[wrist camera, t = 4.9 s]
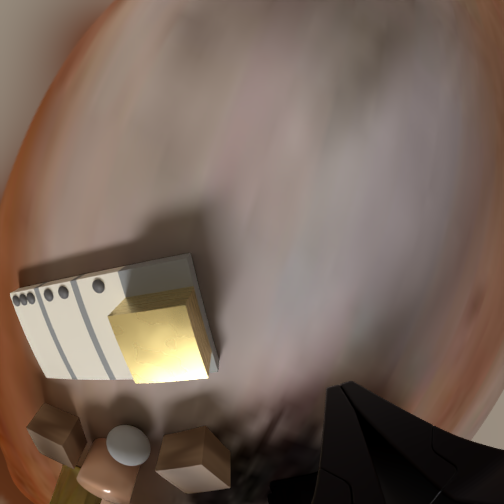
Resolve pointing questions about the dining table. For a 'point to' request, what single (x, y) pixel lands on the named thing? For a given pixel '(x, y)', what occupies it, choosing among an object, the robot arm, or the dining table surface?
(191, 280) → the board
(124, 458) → the grey ball
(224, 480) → the walnut cube
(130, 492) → the peach rounded capsule
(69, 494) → the vase
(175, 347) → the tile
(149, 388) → the dining table surface
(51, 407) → the walnut cube
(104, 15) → the dining table surface
